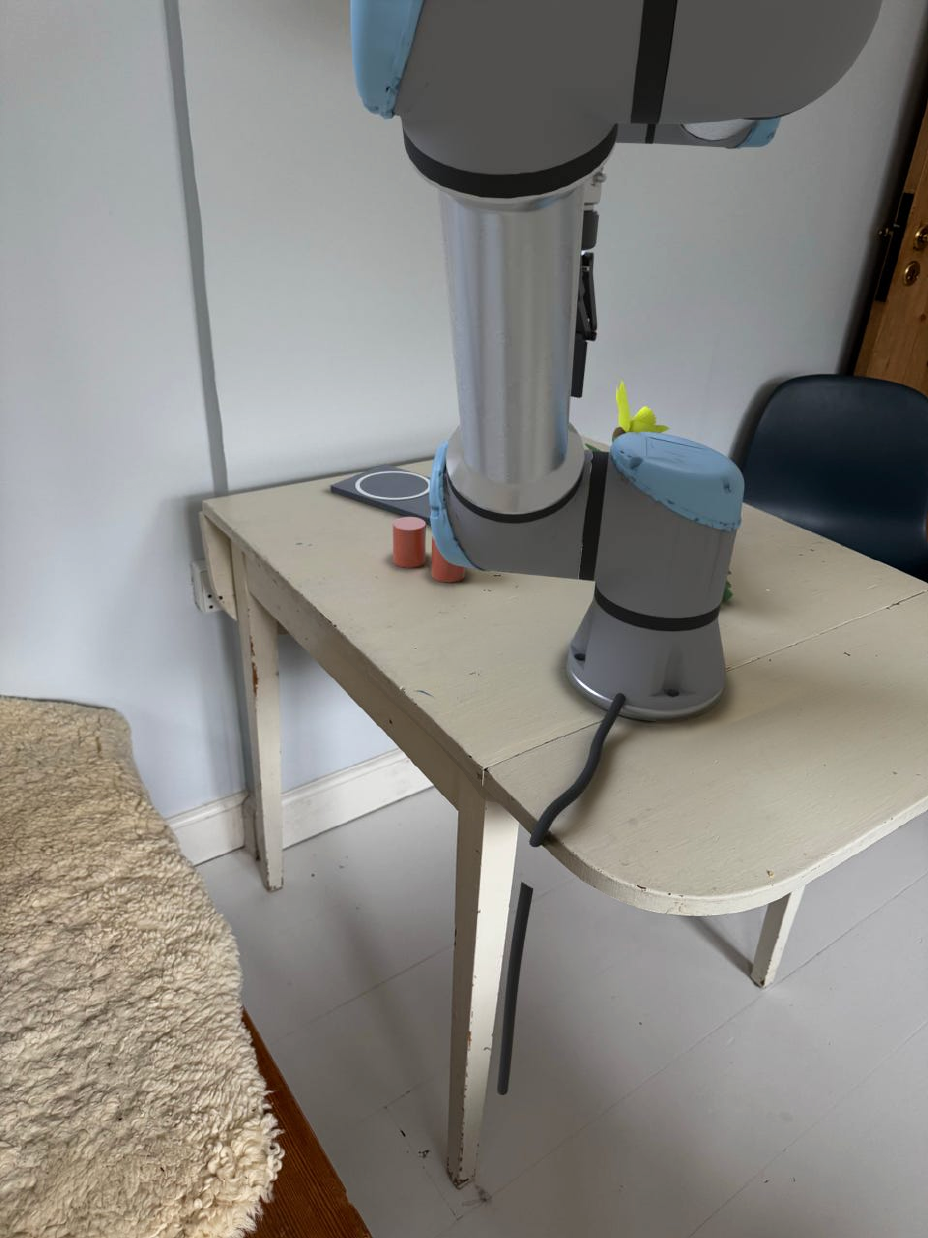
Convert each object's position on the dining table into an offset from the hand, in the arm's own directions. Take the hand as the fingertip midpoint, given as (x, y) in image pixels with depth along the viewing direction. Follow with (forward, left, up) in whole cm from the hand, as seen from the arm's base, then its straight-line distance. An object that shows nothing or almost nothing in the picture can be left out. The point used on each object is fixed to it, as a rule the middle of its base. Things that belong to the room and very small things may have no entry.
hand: (546, 408), depth 98 cm
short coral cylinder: (-13, +4, -18) cm, 23 cm away
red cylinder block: (-13, +10, -18) cm, 25 cm away
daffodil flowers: (+8, -12, -18) cm, 23 cm away
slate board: (+3, +21, -18) cm, 28 cm away
